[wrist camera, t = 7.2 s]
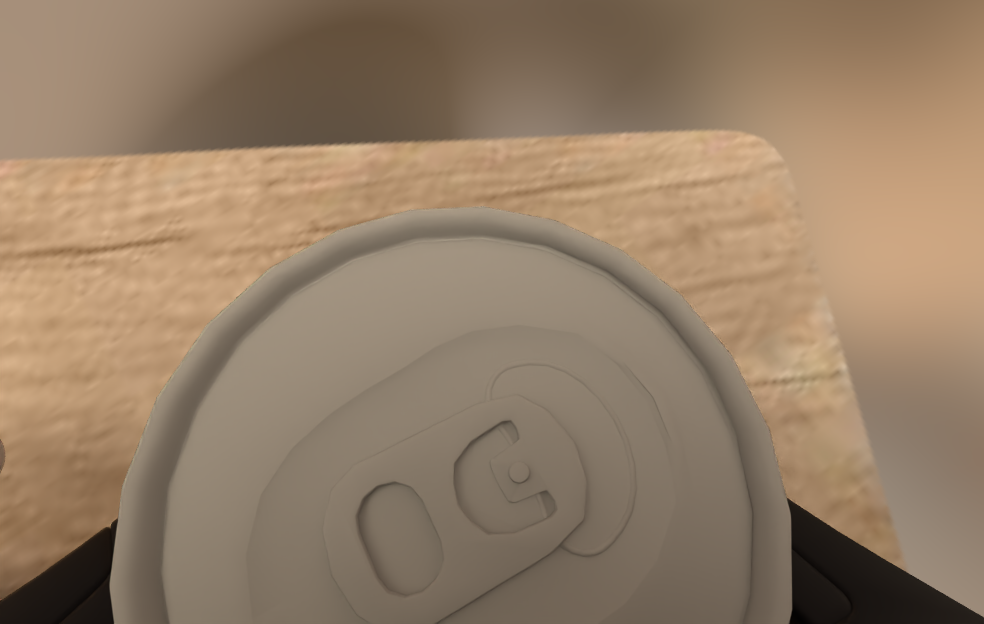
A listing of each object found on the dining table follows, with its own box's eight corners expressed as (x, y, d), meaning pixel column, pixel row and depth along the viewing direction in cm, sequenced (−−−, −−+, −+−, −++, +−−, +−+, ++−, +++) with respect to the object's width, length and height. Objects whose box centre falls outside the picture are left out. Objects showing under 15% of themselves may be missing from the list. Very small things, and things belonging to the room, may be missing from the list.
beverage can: (571, 524, 15) (964, 667, 3) (417, 615, 14) (235, 1254, 2) (493, 376, 16) (587, 110, 5) (347, 449, 15) (2, 346, 4)
